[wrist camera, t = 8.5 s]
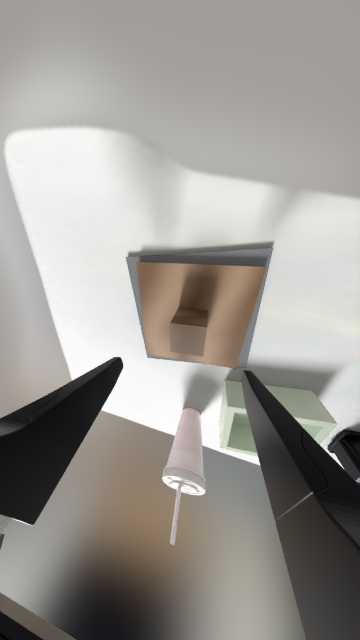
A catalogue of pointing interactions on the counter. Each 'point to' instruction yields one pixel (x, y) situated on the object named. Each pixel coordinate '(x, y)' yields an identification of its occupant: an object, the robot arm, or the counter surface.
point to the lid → (197, 309)
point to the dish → (294, 400)
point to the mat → (218, 257)
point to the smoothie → (185, 461)
